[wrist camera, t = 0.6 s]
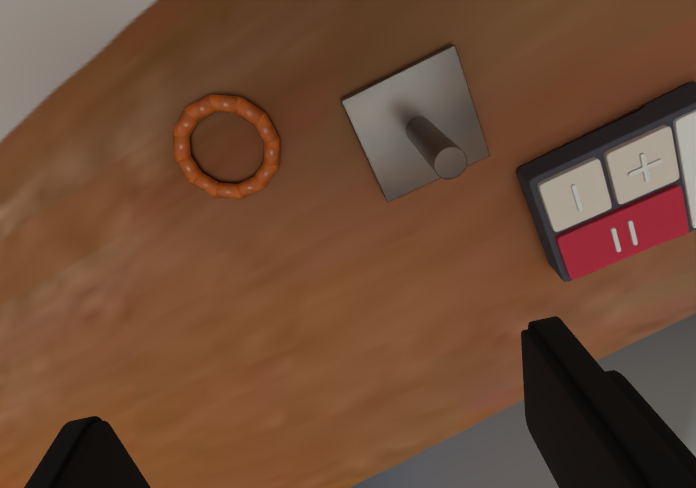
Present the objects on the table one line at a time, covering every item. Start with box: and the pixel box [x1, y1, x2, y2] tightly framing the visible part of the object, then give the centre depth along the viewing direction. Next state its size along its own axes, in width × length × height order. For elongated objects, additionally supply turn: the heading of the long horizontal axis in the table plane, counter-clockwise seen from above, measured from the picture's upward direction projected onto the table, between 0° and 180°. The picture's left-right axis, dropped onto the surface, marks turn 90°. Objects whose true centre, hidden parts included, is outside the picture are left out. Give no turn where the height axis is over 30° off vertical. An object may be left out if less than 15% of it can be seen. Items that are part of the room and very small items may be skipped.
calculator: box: [517, 82, 696, 282], centre depth 37 cm, size 11×4×15 cm
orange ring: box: [173, 94, 280, 199], centre depth 34 cm, size 8×8×1 cm
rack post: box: [341, 44, 490, 202], centre depth 31 cm, size 9×9×10 cm
